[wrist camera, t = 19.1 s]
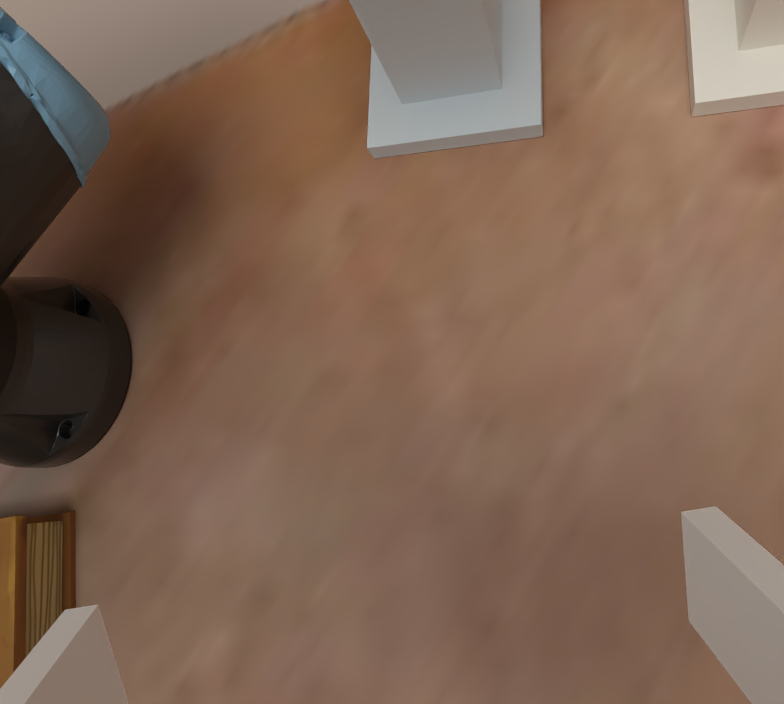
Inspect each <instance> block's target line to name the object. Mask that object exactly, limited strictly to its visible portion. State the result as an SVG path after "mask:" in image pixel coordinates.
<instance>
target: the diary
mask: <svg viewBox="0 0 784 704" xmlns="http://www.w3.org/2000/svg"><path fill="white" fill-rule="evenodd" d="M73 608H76V588H75V511H74V512H65V513H59V514H52V515H46V516H39V517H33V518H27V515H21V516H12V517H5V518H0V689H1V687H2V686H3V685H4V684H5V682H6V681H7V680H8V679H9V678H10V676H11V675H12V674H13V673H14V671H15V670H16V669H17V668H18V667H19V665H20V664H21V663H22V662H23V660H24V659H25V658H26V657H27V656H28V654H29V653H30V652H31V651H32V649H33V648H34V647H35V646H36V645H37V643H38V642H39V641H40V640H41V638H42V637H43V636H44V635H45V634H46V632H47V631H48V630H49V629H50V627H51V626H52V625H53V624H54V623H55V621H56V620H57V619H58V618H59V616H60V615H61V614H62V613H63V612H64V610H66V609H73Z"/></svg>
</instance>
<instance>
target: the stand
mask: <svg viewBox="0 0 784 704" xmlns="http://www.w3.org/2000/svg"><path fill="white" fill-rule="evenodd" d="M684 9H685V25H686V41H687V56H688V72H689V87H690V103H691V117H695V116H702V115H710V114H717V113H725V112H733V111H740V110H748V109H756V108H763V107H771V106H778V105H784V0H684Z"/></svg>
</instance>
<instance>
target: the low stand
mask: <svg viewBox="0 0 784 704" xmlns="http://www.w3.org/2000/svg"><path fill="white" fill-rule="evenodd" d="M349 2H350V4H351V6H352V8H353V10H354V11H355V13H356V15H357V17H358V19H359V21H360V23H361V25H362V27H363V29H364V31H365V33H366V35H367V37H368V39H369V41H370V43H371V45H372V48H371V71H370V93H369V115H368V137H367V149H368V150H369V152H370V153H371V155H372V156H373V158H374V159H375V158H382V157H390V156H398V155H405V154H413V153H420V152H428V151H436V150H443V149H451V148H459V147H466V146H474V145H481V144H489V143H497V142H504V141H512V140H519V139H527V138H535V137H542V136H543V98H542V26H541V0H349Z"/></svg>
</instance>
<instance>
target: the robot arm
mask: <svg viewBox="0 0 784 704" xmlns="http://www.w3.org/2000/svg"><path fill="white" fill-rule="evenodd" d="M109 139H110V123H109V120H108V116H107V114H106V112H105V111H104V109H103V108H102V107H101V105H100V104H99V103H98V102H97V101H96V100H95V99H94V98H93V97H92V95H91V94H90V93H89V92H88V91H87V90H86V89H85V88H84V87H83V86H82V85H81V84H80V83H79V82H78V81H77V80H76V79H75V78H74V77H73V76H72V75H71V74H70V73H69V72H68V71H67V70H66V69H65V68H64V67H63V66H62V65H61V64H60V63H59V62H58V61H57V60H56V59H55V58H54V57H53V56H52V55H51V54H50V53H49V52H48V51H47V50H46V49H45V48H44V47H43V46H42V45H40V44H39V43H38V42H37V41H36V40H35V39H34V38H33V37H32V36H31V35H30V34H29V33H28V32H26V31H25V30H24V29H23V28H21V27H20V26H19V25H17V23H16V21H15V20H14V19H12V18H11V17H10V16H9V15H8V14H7V13H6V12H5V11H4V10H3V9H1V7H0V463H2V464H5V465H10V466H15V467H36V468H46V467H54V466H59V465H62V464H65V463H68V462H70V461H72V460H74V459H76V458H78V457H80V456H81V455H83V454H84V453H85V452H87V451H88V450H89V449H90V448H92V447H93V446H94V445H95V444H96V443H97V442H98V441H99V440H100V439H101V437H102V436H103V435H104V434H105V433H106V431H107V430H108V428H109V427H110V426H111V424H112V422H113V421H114V419H115V417H116V415H117V413H118V411H119V409H120V407H121V404H122V402H123V399H124V396H125V393H126V390H127V386H128V381H129V375H130V365H131V353H130V343H129V338H128V334H127V330H126V327H125V324H124V322H123V319H122V318H121V316H120V314H119V312H118V311H117V309H116V308H115V306H114V305H113V304H112V303H111V302H110V301H109V300H108V299H107V298H106V297H105V296H104V295H102V294H101V293H99V292H98V291H96V290H94V289H92V288H89V287H86V286H84V285H81V284H78V283H75V282H73V281H70V280H66V279H61V278H54V277H9V275H10V274H11V273H12V272H13V270H14V269H15V268H16V267H17V265H18V264H19V263H20V262H21V260H22V259H23V258H24V257H25V255H26V254H27V253H28V252H29V250H30V249H31V248H32V247H33V245H34V244H35V243H36V241H37V240H38V239H39V238H40V236H41V235H42V234H43V233H44V231H45V230H46V229H47V228H48V226H49V225H50V224H51V223H52V221H53V220H54V219H55V218H56V216H57V215H58V214H59V213H60V211H61V210H62V209H63V208H64V206H65V205H66V204H67V203H68V201H69V200H70V199H71V197H72V196H73V195H74V194H75V192H76V191H77V190H78V189H79V187H83V186H84V185H85V182H86V181H87V174H88V173H89V171H90V170H91V168H92V167H93V166H94V164H95V163H96V161H97V160H98V158H99V157H100V155H101V154H102V153H103V151H104V150H105V148H106V147H107V145H108V143H109ZM681 520H682V534H683V548H684V562H685V576H686V590H687V604H688V618H689V622H690V623H691V625H692V626H693V627H694V628H695V630H696V631H697V632H698V634H699V635H700V636H701V638H702V639H703V640H704V642H705V643H706V644H707V646H708V647H709V648H710V650H711V651H712V652H713V654H714V655H715V656H716V658H717V659H718V660H719V662H720V663H721V664H722V665H723V667H724V668H725V669H726V671H727V672H728V673H729V675H730V676H731V677H732V679H733V680H734V681H735V683H736V684H737V685H738V687H739V688H740V689H741V691H742V692H743V693H744V695H745V696H746V697H747V699H748V700H749V701H750V702H751V704H784V565H783V564H782V563H781V562H780V561H778V560H777V559H776V558H775V557H774V556H773V555H771V554H770V553H769V552H768V551H767V550H766V549H765V548H763V547H762V546H761V545H760V544H759V543H758V542H756V541H755V540H754V539H753V538H752V537H751V536H750V535H748V534H747V533H746V532H745V531H744V530H743V529H741V528H740V527H739V526H738V525H737V524H736V523H735V522H733V521H732V520H731V519H730V518H729V517H728V516H726V515H725V514H724V513H723V512H722V511H721V510H720V509H718V508H717V507H716V506H714V507H708V508H701V509H695V510H689V511H683V512H681ZM0 704H129V703H128V699H127V696H126V693H125V690H124V686H123V683H122V680H121V677H120V673H119V670H118V667H117V664H116V660H115V657H114V654H113V651H112V647H111V644H110V641H109V638H108V634H107V631H106V628H105V625H104V622H103V618H102V615H101V612H100V609H99V605H91V606H85V607H79V608H73V609H66V610H64V612H63V613H62V614H61V615H60V616H59V618H58V619H57V620H56V621H55V623H54V624H53V625H52V626H51V627H50V629H49V630H48V631H47V632H46V634H45V635H44V636H43V637H42V638H41V640H40V641H39V642H38V643H37V645H36V646H35V647H34V648H33V649H32V651H31V652H30V653H29V654H28V656H27V657H26V658H25V659H24V660H23V662H22V663H21V664H20V665H19V667H18V668H17V669H16V670H15V671H14V673H13V674H12V675H11V676H10V678H9V679H8V680H7V681H6V682H5V684H4V685H3V686H2V687H1V689H0Z"/></svg>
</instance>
